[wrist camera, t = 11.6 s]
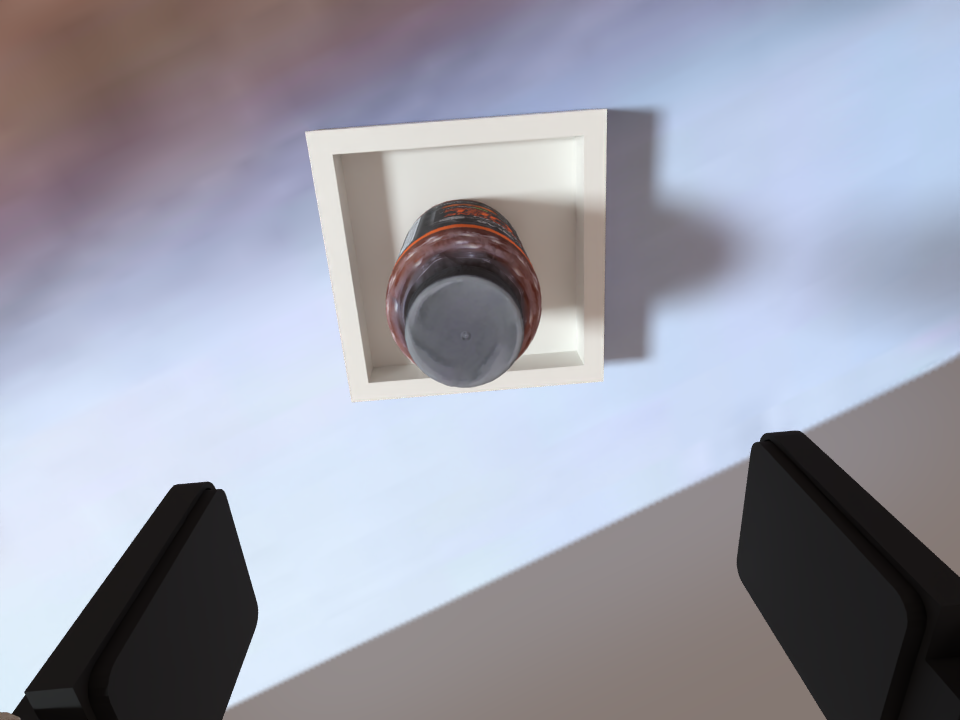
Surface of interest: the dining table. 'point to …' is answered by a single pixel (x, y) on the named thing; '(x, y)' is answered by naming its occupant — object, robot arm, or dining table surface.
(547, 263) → the tray
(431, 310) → the supplement bottle
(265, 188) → the dining table surface
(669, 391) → the dining table surface
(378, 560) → the dining table surface
